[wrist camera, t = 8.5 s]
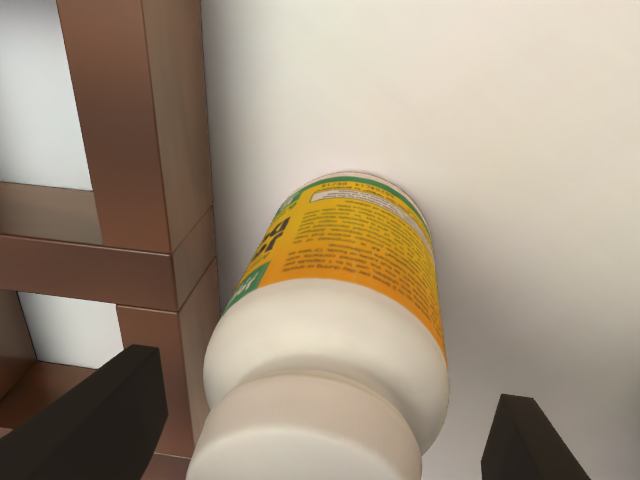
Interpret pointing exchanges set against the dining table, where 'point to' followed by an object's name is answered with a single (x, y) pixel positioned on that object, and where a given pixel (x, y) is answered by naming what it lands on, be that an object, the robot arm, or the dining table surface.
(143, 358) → the robot arm
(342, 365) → the supplement bottle
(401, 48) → the dining table surface
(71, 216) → the holder
